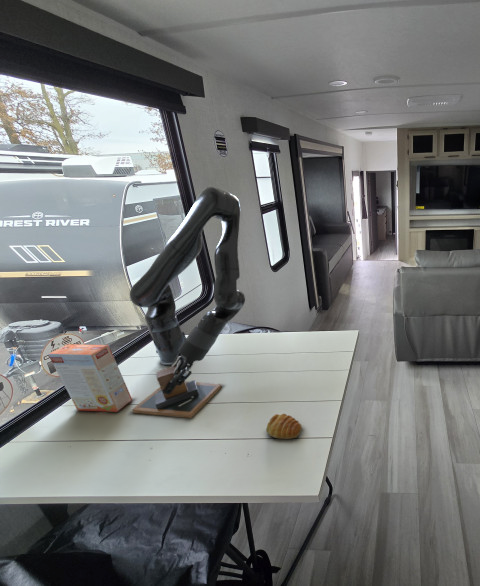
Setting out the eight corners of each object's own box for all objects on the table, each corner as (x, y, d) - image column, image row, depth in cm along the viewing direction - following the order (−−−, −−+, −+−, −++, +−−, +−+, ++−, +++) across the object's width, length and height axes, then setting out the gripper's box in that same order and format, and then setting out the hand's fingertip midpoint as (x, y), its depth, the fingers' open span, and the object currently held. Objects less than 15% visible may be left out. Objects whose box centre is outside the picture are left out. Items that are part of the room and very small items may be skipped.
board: (169, 383, 107) (168, 380, 107) (221, 387, 104) (220, 384, 104) (133, 412, 94) (131, 409, 94) (191, 418, 91) (190, 414, 91)
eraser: (156, 399, 98) (146, 373, 94) (196, 384, 104) (188, 359, 100) (157, 409, 93) (146, 383, 90) (198, 394, 99) (190, 368, 96)
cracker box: (134, 399, 100) (109, 343, 92) (117, 413, 94) (89, 355, 86) (95, 397, 101) (68, 342, 93) (76, 410, 96) (45, 353, 88)
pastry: (307, 425, 87) (305, 415, 86) (293, 444, 81) (291, 434, 80) (279, 418, 90) (277, 408, 89) (264, 436, 84) (261, 426, 83)
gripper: (214, 356, 95) (179, 404, 93) (207, 338, 106) (176, 381, 104) (189, 347, 90) (152, 398, 88) (184, 329, 101) (151, 374, 99)
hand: (165, 389), depth 96 cm, fingers closed on eraser, 4 cm apart
